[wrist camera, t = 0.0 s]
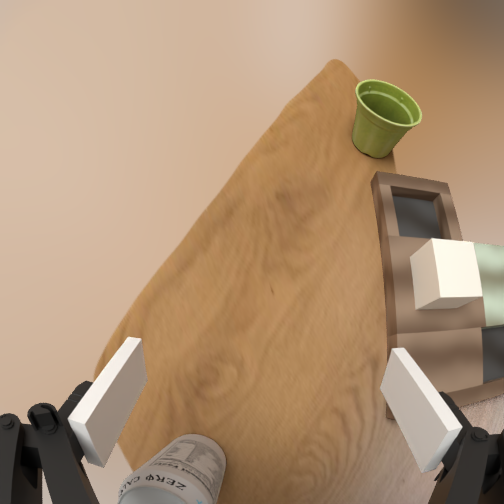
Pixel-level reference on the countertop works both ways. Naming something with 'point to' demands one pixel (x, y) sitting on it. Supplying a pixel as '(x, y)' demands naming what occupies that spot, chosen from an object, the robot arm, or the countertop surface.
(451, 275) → the block
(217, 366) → the countertop surface
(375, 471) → the countertop surface
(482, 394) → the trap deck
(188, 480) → the energy drink can
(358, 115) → the plant pot
